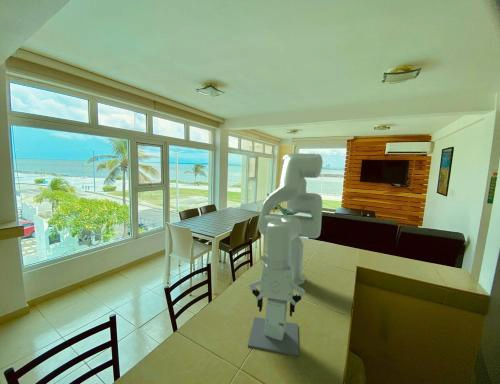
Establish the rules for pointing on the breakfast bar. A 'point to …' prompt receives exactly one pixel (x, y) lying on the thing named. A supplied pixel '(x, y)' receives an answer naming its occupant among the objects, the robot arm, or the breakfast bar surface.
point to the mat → (267, 343)
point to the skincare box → (275, 318)
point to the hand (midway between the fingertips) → (275, 311)
